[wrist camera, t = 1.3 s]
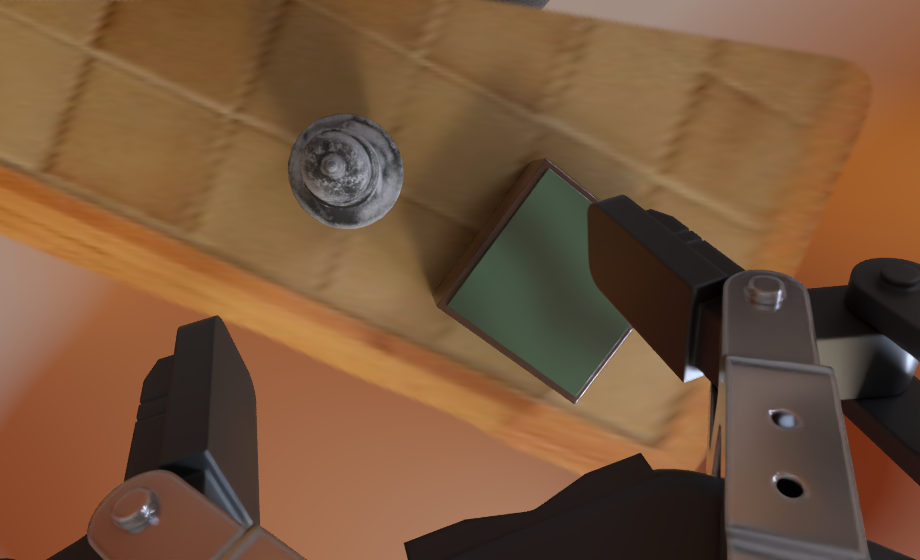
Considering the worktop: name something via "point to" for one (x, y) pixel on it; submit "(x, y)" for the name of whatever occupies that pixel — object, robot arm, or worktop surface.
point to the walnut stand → (537, 284)
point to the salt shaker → (345, 171)
